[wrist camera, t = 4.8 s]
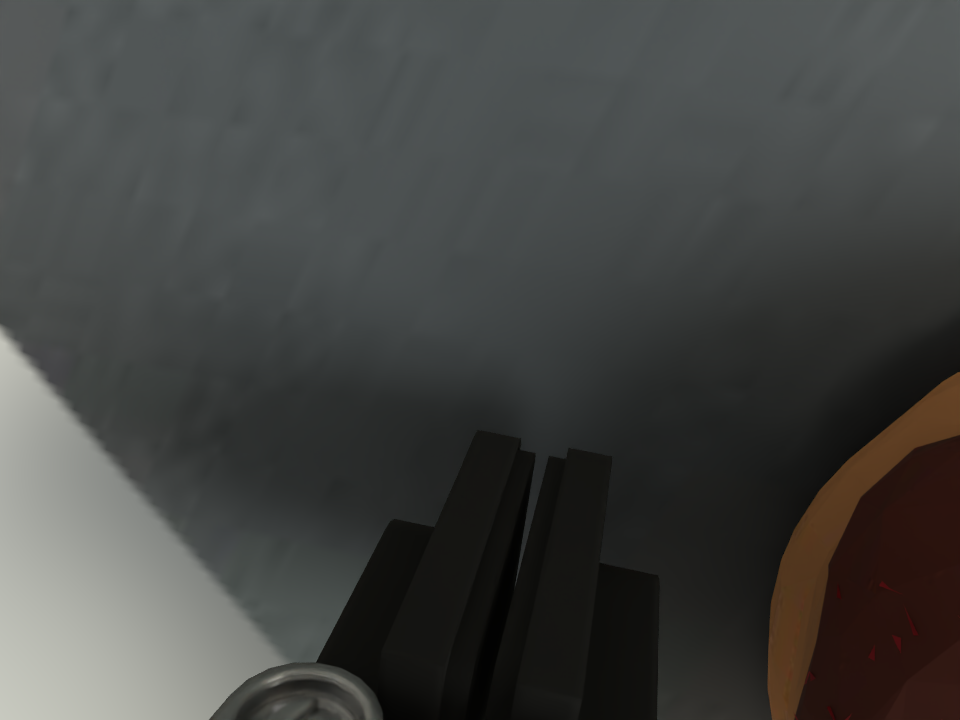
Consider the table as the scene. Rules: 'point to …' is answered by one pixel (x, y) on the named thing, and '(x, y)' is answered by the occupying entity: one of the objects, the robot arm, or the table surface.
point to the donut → (876, 581)
